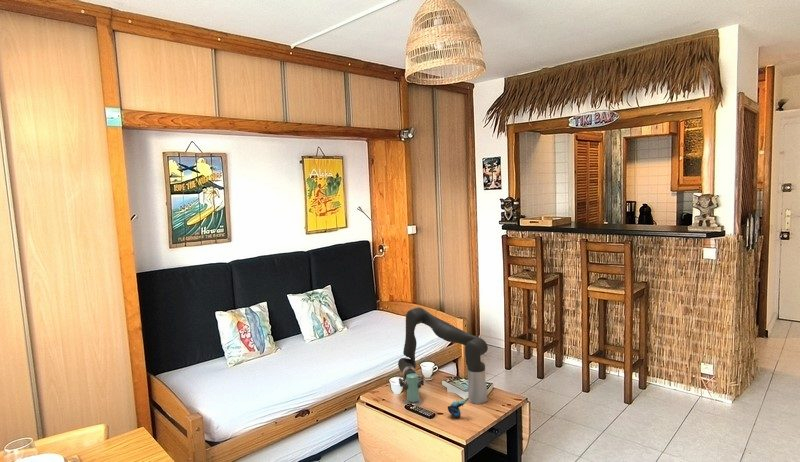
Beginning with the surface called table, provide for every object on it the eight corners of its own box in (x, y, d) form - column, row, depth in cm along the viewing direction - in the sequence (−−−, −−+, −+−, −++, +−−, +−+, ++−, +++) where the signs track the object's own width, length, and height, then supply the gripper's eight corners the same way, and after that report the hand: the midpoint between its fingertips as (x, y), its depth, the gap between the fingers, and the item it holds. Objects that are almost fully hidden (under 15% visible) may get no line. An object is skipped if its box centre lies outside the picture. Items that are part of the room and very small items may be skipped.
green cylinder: (418, 395, 264) (417, 372, 263) (419, 400, 258) (418, 377, 256) (406, 396, 263) (405, 373, 262) (407, 401, 257) (406, 378, 256)
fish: (467, 420, 238) (467, 400, 237) (447, 419, 240) (446, 399, 239) (468, 416, 242) (467, 396, 242) (448, 415, 244) (447, 395, 244)
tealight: (416, 399, 263) (416, 395, 263) (417, 402, 259) (417, 398, 259) (409, 400, 262) (409, 396, 262) (410, 403, 258) (409, 399, 258)
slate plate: (422, 397, 267) (422, 396, 266) (424, 406, 256) (424, 405, 256) (402, 398, 266) (402, 397, 266) (404, 407, 255) (404, 406, 255)
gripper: (396, 369, 273) (399, 381, 256) (422, 367, 274) (426, 379, 258) (397, 382, 274) (399, 395, 257) (422, 380, 275) (426, 392, 258)
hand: (413, 387), depth 257 cm, fingers closed on green cylinder, 6 cm apart
